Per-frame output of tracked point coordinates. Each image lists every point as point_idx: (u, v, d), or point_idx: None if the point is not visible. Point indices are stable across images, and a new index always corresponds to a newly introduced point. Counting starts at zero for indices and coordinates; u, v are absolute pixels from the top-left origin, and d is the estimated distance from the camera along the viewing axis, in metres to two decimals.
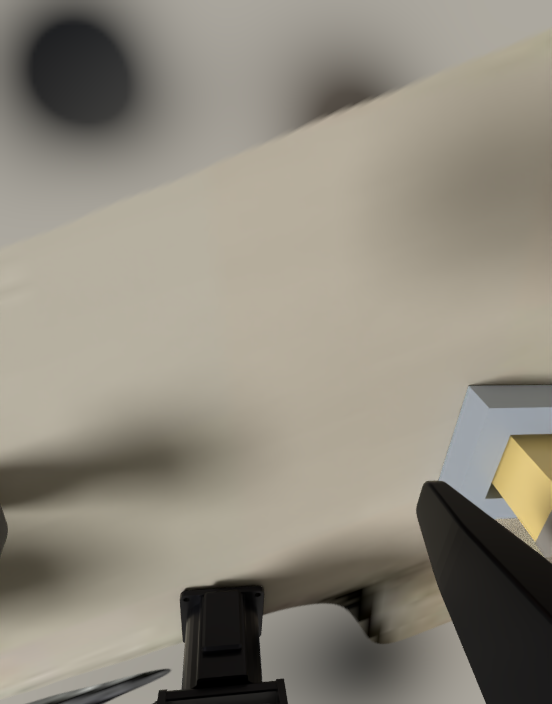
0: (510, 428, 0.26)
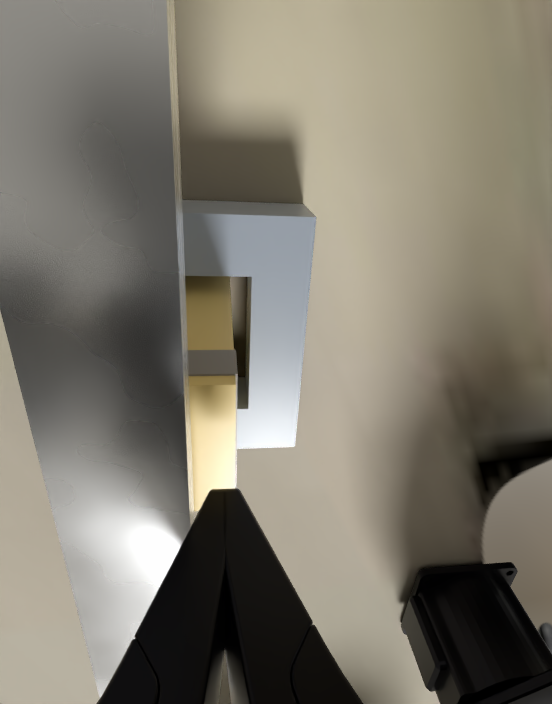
0: None
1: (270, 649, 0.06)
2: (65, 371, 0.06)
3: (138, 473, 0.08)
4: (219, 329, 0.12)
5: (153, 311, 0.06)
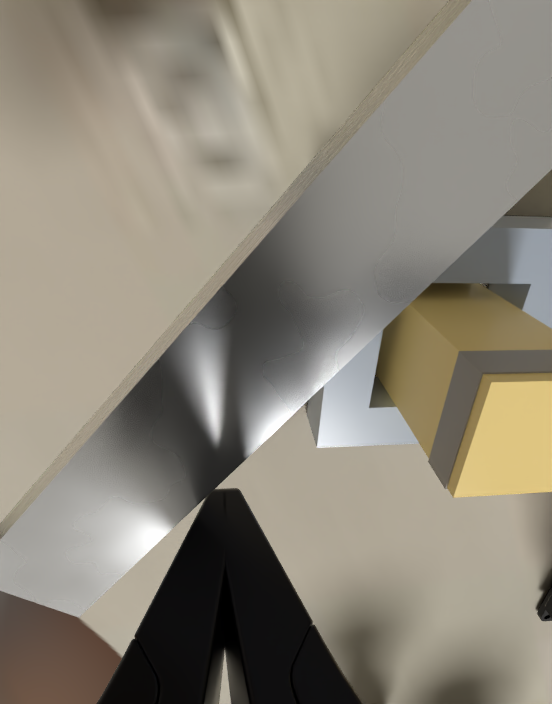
0: (357, 411, 0.18)
1: (270, 649, 0.06)
2: (359, 204, 0.06)
3: (301, 344, 0.07)
4: (544, 331, 0.14)
5: (470, 214, 0.06)
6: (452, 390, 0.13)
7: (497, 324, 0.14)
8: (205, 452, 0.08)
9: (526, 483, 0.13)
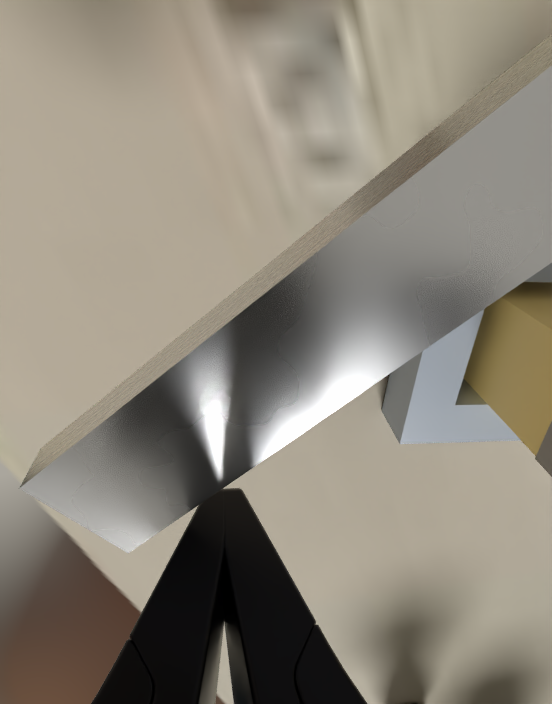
0: (443, 408, 0.18)
1: (273, 649, 0.06)
2: None
3: (466, 264, 0.06)
4: None
5: None
6: None
7: None
8: (326, 375, 0.07)
9: None
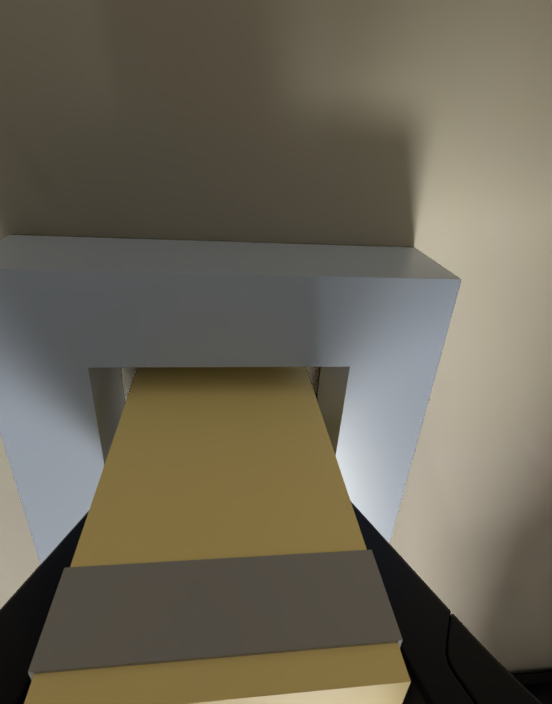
0: None
1: (416, 637, 0.06)
2: None
3: None
4: (321, 482, 0.07)
5: None
6: None
7: (240, 462, 0.08)
8: None
9: None
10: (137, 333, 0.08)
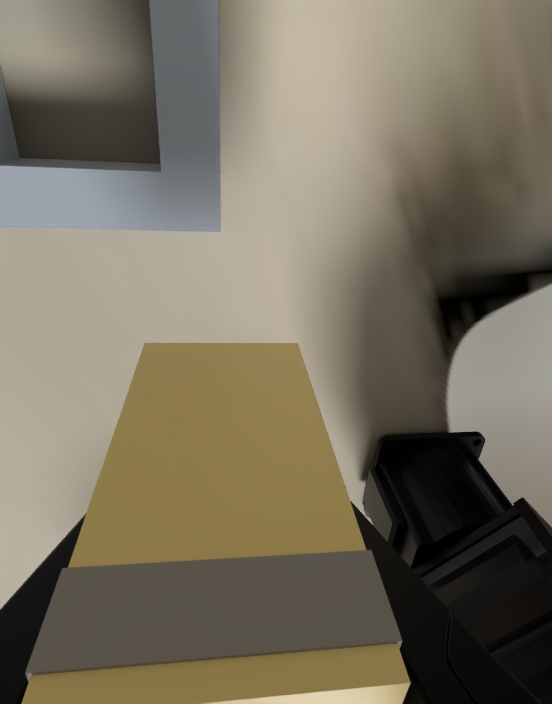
0: None
1: (416, 637, 0.06)
2: None
3: None
4: (321, 482, 0.07)
5: None
6: None
7: (239, 462, 0.08)
8: None
9: None
10: None
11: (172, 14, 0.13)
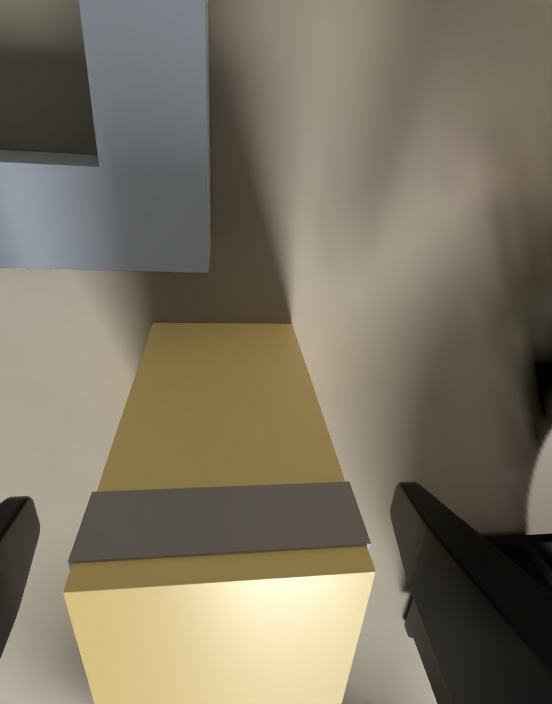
0: None
1: (534, 627, 0.06)
2: None
3: None
4: (308, 433, 0.08)
5: None
6: None
7: (239, 417, 0.09)
8: None
9: None
10: None
11: None
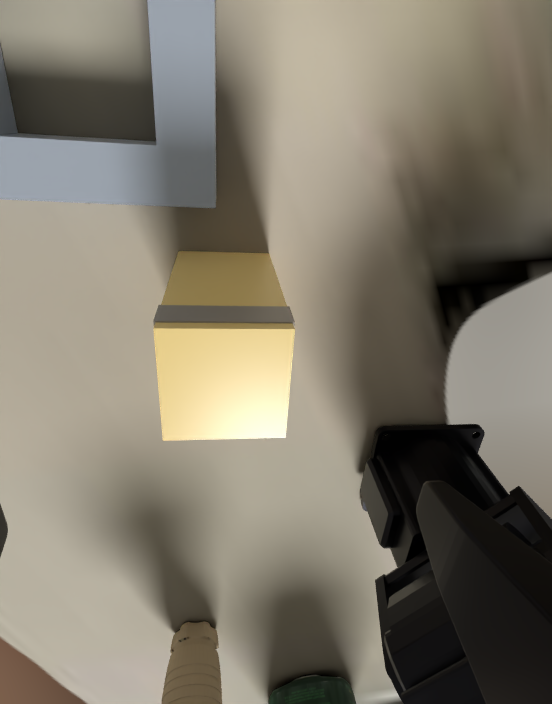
0: None
1: None
2: None
3: None
4: (271, 293, 0.15)
5: None
6: None
7: (233, 286, 0.15)
8: None
9: (231, 429, 0.14)
10: None
11: None
